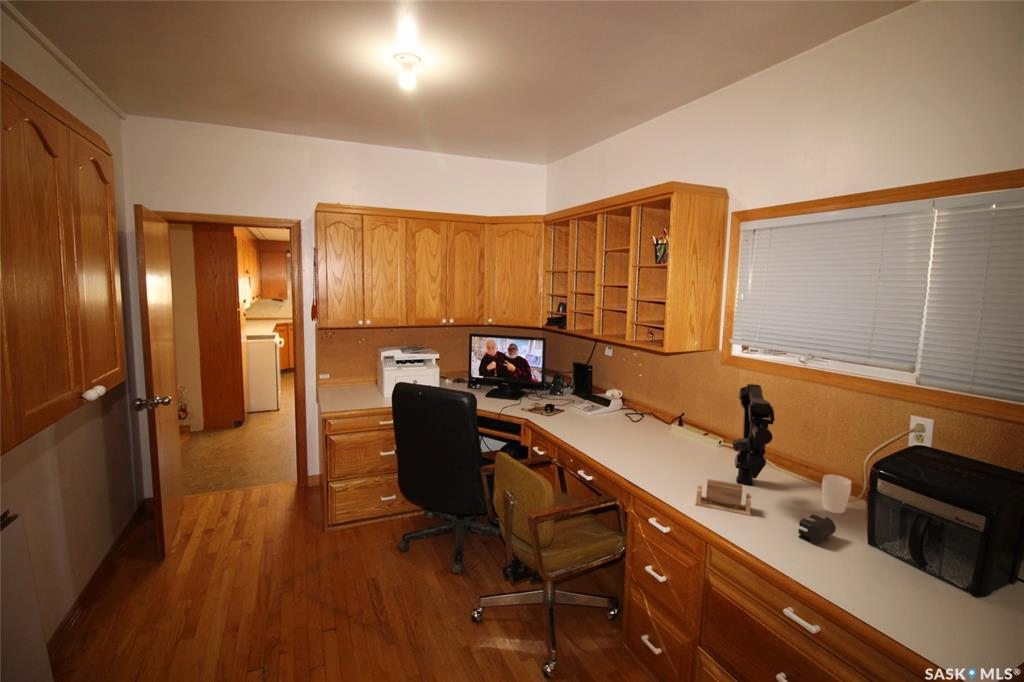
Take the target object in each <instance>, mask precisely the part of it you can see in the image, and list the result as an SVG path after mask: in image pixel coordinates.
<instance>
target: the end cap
mask: <svg viewBox="0 0 1024 682" xmlns="http://www.w3.org/2000/svg"><path fill="white" fill-rule="evenodd" d="M808 518H810V519H812V520H810V519H807V518H805V517H804V518H802V519H800V520H799V524H798V525H799V527H802V528H804V529H806V530H807V531H805V530H803V529H801V528H798V532H797V533H798V539H801V540H802V541H805V542H806V543H809V544H812V545H813V544H816V543H819V542H821V541H823V540H825V539H827V538H828V537H831V536H832V535H833V534H835V533H836V531H837V530H836V529H837V527H836V524H835V522H834V520H832V519H831V518H830V517H828V516H826V517H824V518H823V517H821V516H818V515H817V514H814V513H812V514H810V515H809V516H808Z"/></svg>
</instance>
